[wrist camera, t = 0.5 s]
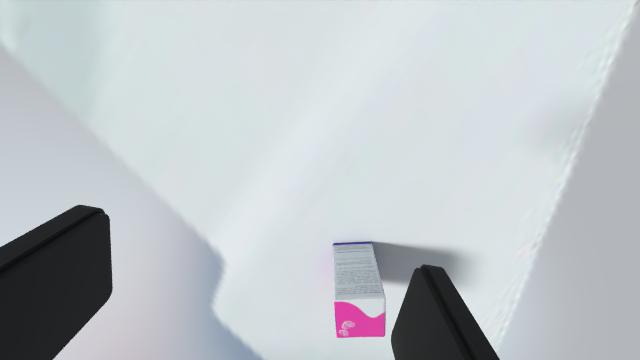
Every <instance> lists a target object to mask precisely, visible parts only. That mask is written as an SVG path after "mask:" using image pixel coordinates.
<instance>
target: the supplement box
mask: <svg viewBox="0 0 640 360" xmlns="http://www.w3.org/2000/svg"><path fill="white" fill-rule="evenodd" d="M333 272H334V305H335V321H336V334H337V338H347V337H384V336H385V295H384V290H383V286H382V282H381V278H380V274H379V270H378V266H377V262H376V258H375V254H374V250H373V245H372V242H354V243H334V244H333Z"/></svg>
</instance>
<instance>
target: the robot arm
mask: <svg viewBox="0 0 640 360" xmlns="http://www.w3.org/2000/svg"><path fill="white" fill-rule="evenodd" d="M110 242H111V241H110V219H109V216H108V215H107V214H105V212H104V211H103V209H101V208H96V207H90V206H84V205H77V206H75V207H73V208H71V209H69V210H68V211H66V212H64V213H62V214H60V215H58V216H57V217H55V218H53V219H51V220H49V221H47V222H46V223H44V224H42V225H40V226H38V227H36V228H35V229H33V230H31V231H29V232H27V233H25V234H24V235H22V236H20V237H18V238H17V239H15V240H13V241H11V242H9V243H7V244H5V245H4V246H2V247H0V360H53V359H54V358H55V357H56V355H57V354H58V353H59V352H60V351H61V350H62V349H63V347H65V346H66V345H67V344H68V343H69V341H70V340H71V339H72V338H73V337H74V336H75V335H76V334H77V333H78V332H79V331H80V330H81V329H82V327H84V325H85V324H86V323H87V322H88V321H89V320H90V319H91V318H92V317H93V316H94V315H95V313H97V312H98V310H99V309H100V308H101V307H102V306H103V305H104V304H105V303H106V302H107V300H108V299H109V297H110V295H111V293H112V267H111V265H112V264H111V243H110ZM391 344H392V349H393V353H394V357H395V360H500V359H499V358H498V356H497V354H496V353H495V351H494V350H493V348H492V346H491V345H490V343H489V341H488V340H487V338H486V337H485V335H484V333H483V332H482V330H481V329H480V327H479V325H478V324H477V322H476V320H475V319H474V317H473V316H472V314H471V312H470V311H469V309H468V307H467V306H466V304H465V303H464V301H463V299H462V298H461V296H460V295H459V293H458V291H457V290H456V288H455V286H454V285H453V283H452V282H451V280H450V278H449V277H448V275H447V273H446V272H445V270H444V269H443V268H441V267H437V266H431V265H425V264H424V265H422V266H421V267H420V268H416V269H415V270H414V273H413V275H412V278H411V281H410V284H409V287H408V289H407V292H406V295H405V298H404V301H403V303H402V306H401V309H400V312H399V314H398V317H397V320H396V323H395V326H394V328H393V331H392V335H391Z"/></svg>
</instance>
